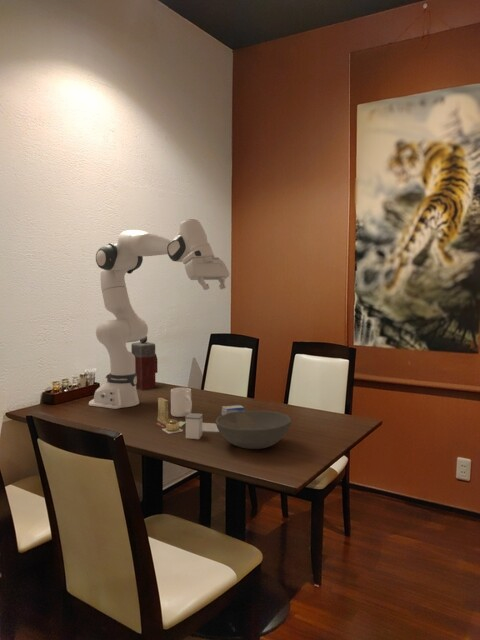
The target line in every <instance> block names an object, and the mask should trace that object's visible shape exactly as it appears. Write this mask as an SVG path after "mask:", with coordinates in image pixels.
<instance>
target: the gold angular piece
mask: <svg viewBox="0 0 480 640" xmlns="http://www.w3.org/2000/svg"><path fill="white" fill-rule="evenodd" d="M157 421H158V423H163V424H165V425H166V427H165V428H166V430H167V431H177V430H179V429H180V427H179V422H180V421H177V419H175V418H172V419H171V418H169V400H167V399H165V398H163V397H158V398H157Z"/></svg>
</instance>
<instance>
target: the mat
mask: <svg viewBox="0 0 480 640" xmlns="http://www.w3.org/2000/svg"><path fill="white" fill-rule="evenodd" d="M202 433H216V434H220V432H219V430H218V428H217V425H216V423H214V422H213V423H211V422H202Z"/></svg>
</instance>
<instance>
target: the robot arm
mask: <svg viewBox="0 0 480 640" xmlns="http://www.w3.org/2000/svg"><path fill="white" fill-rule="evenodd" d="M163 255H168V257H169V259H170V260H171V261H172V262H178V263H182V264H183V265H184V270H185V272H186V275H187V277H188V279H189V280H191V281H197V282H198V283H199V285H200V286H202V287H201V288H202V289H203V291H208V290H210V286H209V284H208V283H206V281H218V282H219V289H220V290H225V289H226V288H227V287H226V284H225V282H226V279H227V278H228V277H230V271H229V269H228V267H227V265H226V263H225V262H224V261H223V260H222V259H221V258H219V257H215V253H214V251H213V249H212V246H211V244H210V243H209V242H208V238H207V233H206V231H205V229H204V227H203V225H202V224H201V222H200V221H199V220H198V219H192V218H190V219H185V220H183V221H181V222H180V224H179V227H178V230H177V233H176V234H175V235H174V237H173V238H169V237H165V236H162V235H159V234H156V233H154V232H150V231H147V230H142V229H127V230H124V231H122V232H121V233H120V234H119V235H118V239H117V242H116V243H112V242H110V243H108V244H106V245H103V246H101V247H100V248H98V250H97V251H96V254H95V262H96V265H97V266H98V268H100V269H101V270H100V289H101V294H102V298H103V303H104V308H105V309H106V310H107V311H108V312H110V313H111V314H113V315H114V316H115V319H108V320H106V321H103V322H100V323H99V324H98V325H97V327H96V329H95V335H96V339H97V341H99V343H100V344H102V345H103V346H104V347H105V349H106V350H107V353H108V355H109V361H110V362H109V364H110V372H109V373H108V374H107V375H105V379H106V382H104V383H103V384H102V385H100V386H98V388H97V389H95V391H94V395H93V399H90V401H88V406H91V407H98V408H106V409H113V410H116V409H121V408H129V407H134V406H137V405H139V404H140V400H139V396H138V389H136V384H137V376H136V372H135V356H134V354H132V353H131V351H129V350H128V348H127V344H128V343H137V342H138V341H139V342H140V340H141V339H144V338H145V337H146V335H147V336H148V332H149V327H148V323H147V322H146V321H145V320H144V319H142V318H141V317H139V315H138V314H137V313H136V311H135V309H134V308H133V307H132V303H131V301H130V297H129V294H128V293H129V292H128V288H127V284H126V280H125V276H126V274H129V275H130V274H132V273H133V272H134V271H136V270H138V269H139V268H140V267H141V266H142V263H143V260H144V257H153V256H163Z"/></svg>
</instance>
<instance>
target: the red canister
mask: <svg viewBox="0 0 480 640" xmlns="http://www.w3.org/2000/svg"><path fill="white" fill-rule="evenodd" d="M130 347H131V351H130V352H131V353H132V354H134V356H135V372H136V376H137V384H136V388H137V389H136V390H139V389H140V390H139V391H145V390H144V389H146V390H150V389H149V388H151V389H155V388H154V387H157V386H156V374H157V373H159V372H158V357H157V353H156V343H154V342H148V334H147V335H146V337H145V338H144V339H141V340H139V342H138V341H137V342H131V346H130Z"/></svg>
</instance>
